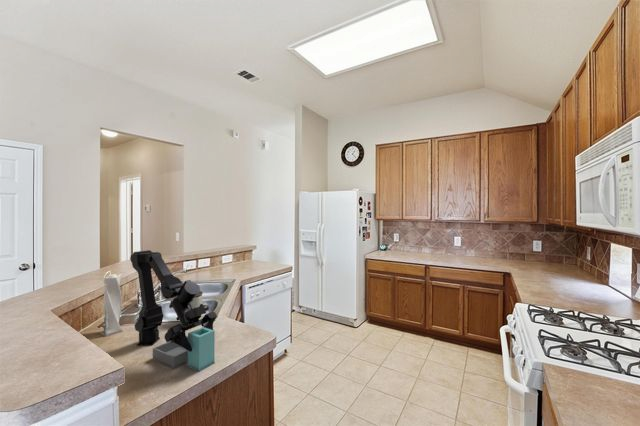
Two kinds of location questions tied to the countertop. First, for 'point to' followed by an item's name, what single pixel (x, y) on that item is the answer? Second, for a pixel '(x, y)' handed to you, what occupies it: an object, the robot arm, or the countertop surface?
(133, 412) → the countertop surface
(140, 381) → the countertop surface
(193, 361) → the teal square planter
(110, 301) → the skyscraper
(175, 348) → the gray square tray
